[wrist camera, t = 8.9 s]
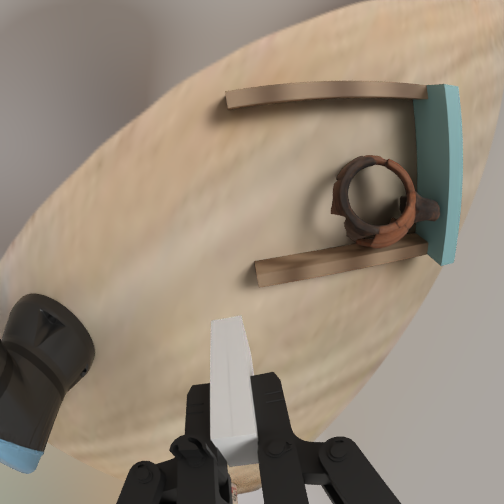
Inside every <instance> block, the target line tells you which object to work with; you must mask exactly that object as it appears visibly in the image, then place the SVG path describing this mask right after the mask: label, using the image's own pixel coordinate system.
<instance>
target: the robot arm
mask: <svg viewBox="0 0 504 504" xmlns="http://www.w3.org/2000/svg"><path fill="white" fill-rule="evenodd" d="M94 356H95V350H94V345H93V342H92V339H91V337H90V335H89V333H88V332H87V330H86V329H85V327H84V326H83V324H82V323H81V322H80V321H79V320H78V318H77V317H76V316H75V315H74V314H73V313H72V312H70V311H69V310H68V309H67V308H66V307H64V306H63V305H61V304H60V303H58V302H57V301H55V300H53V299H51V298H49V297H47V296H44V295H40V294H28V295H25V296H23V297H22V298H21V299H20V300H19V301H18V302H17V303H16V304H15V305H14V307H13V308H12V310H11V312H10V315H9V318H8V321H7V324H6V327H5V331H4V334H3V337H2V340H1V339H0V462H1V463H3V464H5V465H7V466H9V467H10V468H12V469H15V470H17V471H19V472H22V473H26V474H29V473H32V472H33V471H34V470H35V469H36V467H37V465H38V463H39V460H40V457H41V456H42V455H43V454H44V450H45V447H46V444H47V441H48V438H49V435H50V432H51V429H52V427H53V424H54V421H55V419H56V416H57V413H58V411H59V408H60V406H61V403H62V401H63V398H64V396H65V394H66V393H67V392H68V391H69V390H70V389H71V388H72V387H73V386H74V385H75V384H76V383H77V382H78V381H79V380H80V379H81V378H82V377H84V376H85V375H86V374H87V373H88V371H89V369H90V367H91V365H92V362H93V360H94ZM169 451H170V452H171V453H172V454H173V455H174V456H175V458H173V459H171V460H168V461H165V462H161V463H158V464H154V463H152V462H150V461H141V462H137V463H136V464H135V465H133V466H132V468H131V469H130V471H129V473H128V475H127V478H126V480H125V483H124V486H123V488H122V491H121V494H120V496H119V498H118V501H117V503H116V504H233V498H232V487H231V478H230V475H229V474H228V470H227V464H228V465H229V467H232V466H241V465H249V464H256V463H259V469H260V476H261V483H262V491H263V498H264V504H309V502H308V498H307V493H306V489H305V484H311V485H321V486H322V487H323V489H324V490H325V492H326V494H327V495H328V497H329V498H330V500H331V502H332V503H333V504H401V503H400V502H399V500H398V499H397V498H396V496H395V495H394V494H393V493H392V491H391V490H390V489H389V487H388V486H387V485H386V484H385V482H384V481H383V480H382V478H381V477H380V475H379V474H378V473H377V472H376V470H375V469H374V468H373V466H372V465H371V464H370V462H369V461H368V460H367V458H366V457H365V456H364V454H363V453H362V452H361V450H360V449H359V447H358V446H357V445H356V443H355V442H353V441H352V440H351V439H349V438H346V437H334V438H331V439H329V440H327V441H326V442H308V441H304V440H301V439H299V438H298V437H297V436H296V435H295V434H294V433H293V431H292V428H291V425H290V420H289V416H288V411H287V407H286V403H285V398H284V394H283V390H282V385H281V381H280V379H279V378H278V377H277V375H276V374H275V373H274V372H270V373H265V374H260V375H254V372H253V365H252V358H251V352H250V348H249V344H248V340H247V336H246V333H245V329H244V325H243V321H242V317H241V316H235V317H230V318H225V319H219V320H213V321H211V351H210V383H207V384H199V385H192V387H191V389H190V391H189V392H188V394H187V407H186V421H185V435H183V436H180V437H178V438H177V439H175V440H174V442H173V443H172V444H171V446H170V450H169Z"/></svg>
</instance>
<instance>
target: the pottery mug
mask: <svg viewBox="0 0 504 504" xmlns="http://www.w3.org/2000/svg"><path fill="white" fill-rule="evenodd" d="M373 165H382V166H385V167H386V168H388V169H390V170H391V171H393V172H394V173H395V174H396V175H397V176H398V177H399V178H400V179H401V180H402V182H403V184H404V186H405V189H406V194H407V195H406V196H401V197H400V211H401V214H402V215H401V216H400V217H399V218H398V219H395V218H392V219H391V221H390V224H387V225H381V226H375V225H371V224H368V223H366V222H364V221H363V220H361V219H360V218H359V217H358V216H357V215H356V214H355V213H354V211H353V210H352V209H351V206H350V203H349V199H348V189H349V185H350V182H351V180H352V178H353V177H354V176H355V174H356V173H357V172H358V171H360V170H361V169H364V168H366V167H368V166H373ZM336 179H337V182H336V183H335V184H334V187H333V201H332V207H331V214H335V215H341V216H344V217H345V218H346V220H345V222H344V227H345V229H346V231H347V237H349V238H350V239H351V240H353V241H356V244H358V245H361V246H368V247H372V248H377V249H379V248H385V247H388V246H391V245H393V244H394V243H396V242H397V241H399V240H400V239H401V238H403V237H404V236H405V235H406V233H407V232H408V231H409V228H411V226H412V225H413V224H414V223H416V222H420V221H426V220H427V221H436V220H437V219H438V218H439V216H440V207H439V205H438V203H437V202H436V201H434V200H431V199H428V198H423V197H421V196H420V195H419V194H418V193H417V192H416V191H415V188H414V185H413V183H412V180H411V178H410V176H409V175H408V173H407V172H406V171H405V170H404V168H403V167H401V166H400V165H399V164H398V163H396V162H394V161H393V160H390V159H388V160H385V159H383V158H381V157H380V156H373V155H367V156H364V157H363V156H359V157H357V158H355V159H354V160H352V161H351V162H349V163H348V164H347V165H346V166H345V167H344V168H343V169H342V170H341V171H340V173H339V174H338V175H337V177H336ZM374 234H375V235H374ZM370 235H374V238H373V239H361V238H365V237H367V236H370Z"/></svg>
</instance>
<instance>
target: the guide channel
mask: <svg viewBox="0 0 504 504" xmlns="http://www.w3.org/2000/svg"><path fill="white" fill-rule="evenodd" d="M225 95H226V100H227V106H228V110H231V109H237V108H243V107H250V106H257V105H264V104H272V103H281V102H291V101H303V100H317V99H337V98H392V99H412V100H415V99H428V93H427V85H419V84H409V83H396V82H379V81H318V82H300V83H287V84H277V85H267V86H259V87H251V88H244V89H238V90H232V91H226V92H225ZM427 252H428V242H427V241H426V240H424V239H423V238H422V237H420V236H419V235H418V234H416V233H412V234H406V235H405V236H404V237H403V238H401V239H400V240H399V241H397V242H396V243H394V244H393V245H391V246H388V247H385V248H379V249H377V248H372V247H368V246H361V245H358V244H351V245H345V246H340V247H334V248H328V249H323V250H317V251H311V252H305V253H300V254H294V255H288V256H282V257H276V258H271V259H265V260H259V261H255V268H256V274H257V280H258V286H259V287H265V286H270V285H276V284H282V283H288V282H293V281H299V280H304V279H310V278H315V277H320V276H325V275H331V274H336V273H341V272H346V271H351V270H356V269H361V268H366V267H371V266H376V265H380V264H385V263H390V262H394V261H399V260H404V259H408V258H413V257H417V256H422V255H426V254H427Z"/></svg>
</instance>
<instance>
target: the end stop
mask: <svg viewBox="0 0 504 504" xmlns="http://www.w3.org/2000/svg"><path fill="white" fill-rule="evenodd" d="M427 93H428V99H415V100H413V106H414V116H415V128H416V144H417V193H418V194H419V195H420V196H421V197H423V198H428V199H431V200H434V201H436V202H437V203H438V205H439V207H440V216H439V218H438V219H437V220H436V221H427V220H426V221H420V222H416V232H415V233H416V234H418V235H419V236H420V237H422V238H423V239H424V240H426V241H427V242H428V252H427V254H428V255H429V256H430V257H431V258H432V259H434V260H435V261H436V262H437V263H438V264H439V265H441V266H443V265H446V264H450V263H453V262H454V258H455V251H456V245H457V238H458V230H459V221H460V211H461V198H462V179H463V139H462V119H461V107H460V97H459V89H458V87H457V86H452V85H446V84H439V85H427Z"/></svg>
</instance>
